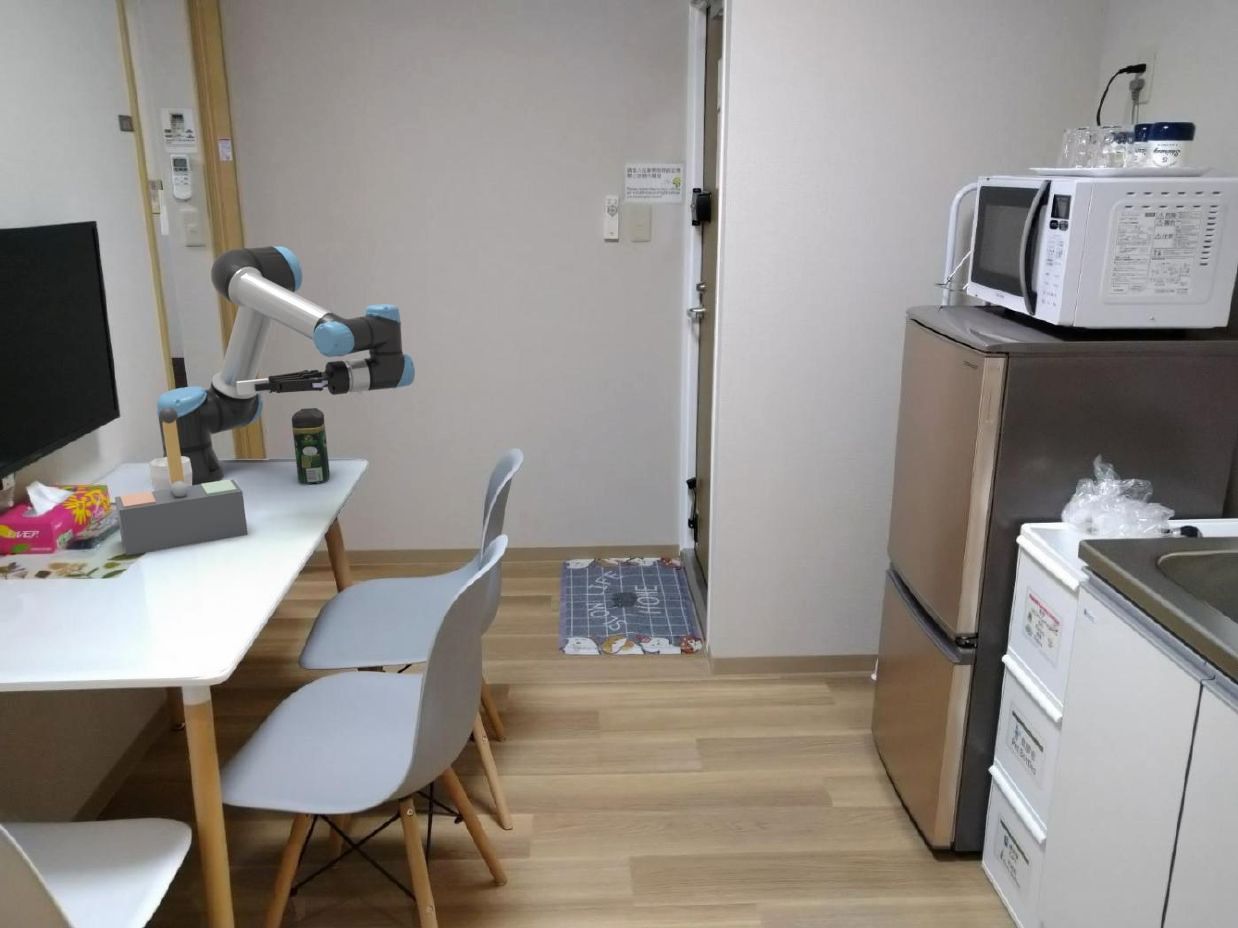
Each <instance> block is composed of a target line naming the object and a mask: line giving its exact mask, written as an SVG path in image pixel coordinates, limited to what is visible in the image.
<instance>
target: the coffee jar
mask: <svg viewBox="0 0 1238 928" xmlns="http://www.w3.org/2000/svg"><path fill="white" fill-rule="evenodd" d="M291 426H292V427H291V428H292V435H293V437H292V438H293V445H294V451H295V452H294V454H295V462H296V470H297V471H296V473H297V481H298V482H299V483H300V482H301V484H306V483H317V482H320V483H323V482H324V481H325V482H326V481H328V479H329V478H330V473H331V471H330V464H329V463H330V462H329V453H328V446H327V445H328V444H327V443H328V442H327V433H326V423H325V415H324V411H322V410H319V408H317V407H316V408H315V407H313V408H310V407H309V408H307V407H306V408H301V409H300V410H298V411H296V412H295V413H294V414H293V415H292V417H291ZM325 482H324V483H325ZM317 484H318V483H317Z"/></svg>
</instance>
